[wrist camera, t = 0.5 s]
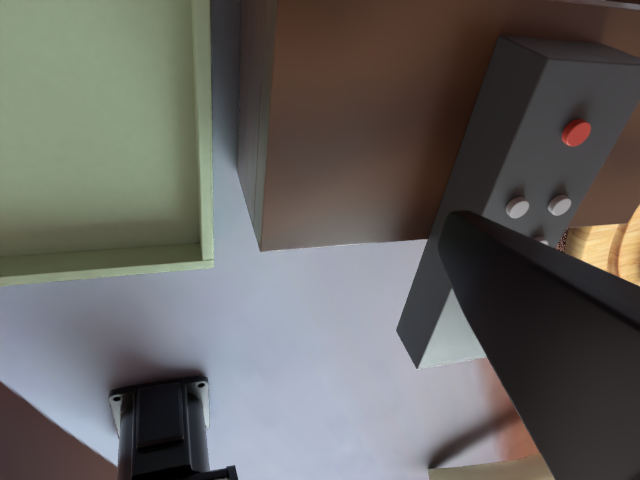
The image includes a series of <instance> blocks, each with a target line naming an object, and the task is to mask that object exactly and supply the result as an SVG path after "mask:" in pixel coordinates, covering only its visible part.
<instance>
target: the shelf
mask: <svg viewBox="0 0 640 480" xmlns="http://www.w3.org/2000/svg"><path fill="white" fill-rule="evenodd" d="M500 35H506V36H518V37H530V38H542V39H554V40H566V41H578V42H590V43H602V44H604V45H607V46H610V47H612V48H615V49H618V50H620V51H623V52H625V53H628V54H631V55H633V56H636V57H639V58H640V0H242V2H241V42H240V81H239V121H238V160H237V173H238V177H239V180H240V184H241V187H242V191H243V194H244V198H245V201H246V205H247V208H248V212H249V215H250V218H251V222H252V225H253V228H254V232H255V235H256V239H257V242H258V246H259V249H260V251H261V252H265V251H278V250H291V249H304V248H317V247H330V246H343V245H355V244H368V243H381V242H394V241H407V240H420V239H428V238H429V235H430V232H431V229H432V226H433V223H434V220H435V218H436V215H437V212H438V209H439V206H440V203H441V200H442V198H443V195H444V192H445V189H446V186H447V183H448V180H449V177H450V175H451V172H452V169H453V166H454V163H455V160H456V157H457V155H458V152H459V149H460V146H461V143H462V140H463V137H464V134H465V132H466V129H467V126H468V123H469V120H470V117H471V114H472V112H473V109H474V106H475V103H476V100H477V97H478V94H479V91H480V89H481V86H482V83H483V80H484V77H485V74H486V71H487V69H488V66H489V63H490V60H491V57H492V54H493V51H494V49H495V46H496V43H497V40H498V37H499V36H500ZM639 205H640V101H639V103H638V104H637V106H636V108H635V110H634V111H633V113H632V115H631V117H630V118H629V120H628V122H627V124H626V125H625V127H624V129H623V131H622V132H621V134H620V136H619V138H618V139H617V141H616V143H615V145H614V146H613V148H612V150H611V152H610V153H609V155H608V157H607V159H606V160H605V162H604V164H603V166H602V167H601V169H600V171H599V173H598V174H597V176H596V178H595V180H594V181H593V183H592V185H591V187H590V188H589V190H588V192H587V194H586V195H585V197H584V199H583V201H582V202H581V204H580V206H579V208H578V209H577V211H576V213H575V215H574V216H573V218H572V220H571V222H570V223H569V225H568V227H567V228H574V227H586V226H599V225H612V224H625V223H628V221H629V220H630V218H631V217H632V215H633V214H634V212H635V211H636V209H637V208H638V206H639Z"/></svg>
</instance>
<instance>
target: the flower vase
mask: <svg viewBox="0 0 640 480" xmlns="http://www.w3.org/2000/svg"><path fill="white" fill-rule="evenodd" d="M428 473H429V479H430V480H555V479H554V477H553V475H552V474H551V472H550V470H549V468H548V466H547V465H546V463H545V461H544V459H543V457H542V456H541V454H540V452H538V453H535V454H533V455H530V456H528V457H525V458H522V459H517V460H512V461H503V462H495V463H487V464H479V465H470V466H462V467H451V468H436V469H428Z"/></svg>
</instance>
